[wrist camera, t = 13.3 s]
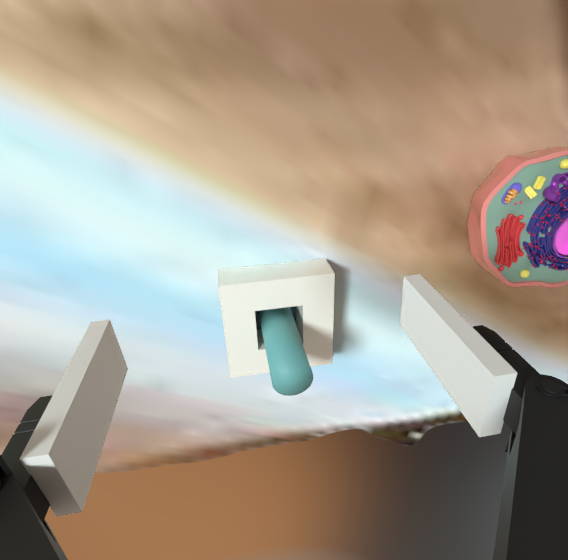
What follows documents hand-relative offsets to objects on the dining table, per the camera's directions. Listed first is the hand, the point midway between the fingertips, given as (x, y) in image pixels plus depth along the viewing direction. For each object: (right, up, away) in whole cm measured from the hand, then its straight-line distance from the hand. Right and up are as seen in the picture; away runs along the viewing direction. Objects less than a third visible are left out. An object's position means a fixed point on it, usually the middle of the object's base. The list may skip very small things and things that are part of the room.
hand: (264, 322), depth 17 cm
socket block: (0, -2, +35) cm, 35 cm away
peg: (-1, -2, +35) cm, 35 cm away
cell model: (+31, +12, +34) cm, 47 cm away
